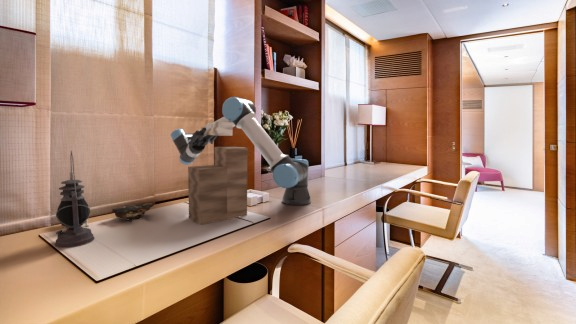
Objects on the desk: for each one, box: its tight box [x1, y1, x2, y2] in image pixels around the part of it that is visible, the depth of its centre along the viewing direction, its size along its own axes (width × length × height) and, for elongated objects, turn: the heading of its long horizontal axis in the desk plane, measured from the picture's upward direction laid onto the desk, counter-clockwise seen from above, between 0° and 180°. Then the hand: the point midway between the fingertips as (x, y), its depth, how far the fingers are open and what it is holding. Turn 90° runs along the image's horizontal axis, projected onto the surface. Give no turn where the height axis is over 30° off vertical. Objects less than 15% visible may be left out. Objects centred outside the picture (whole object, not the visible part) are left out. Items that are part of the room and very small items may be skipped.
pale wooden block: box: [200, 121, 234, 137], centre depth 140 cm, size 21×7×6 cm, turn 42°
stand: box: [187, 146, 249, 225], centre depth 128 cm, size 11×22×30 cm, turn 132°
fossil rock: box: [111, 202, 155, 221], centre depth 124 cm, size 14×14×6 cm
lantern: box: [54, 150, 95, 249], centre depth 97 cm, size 12×11×30 cm
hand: (213, 125), depth 141 cm, fingers closed on pale wooden block, 3 cm apart
